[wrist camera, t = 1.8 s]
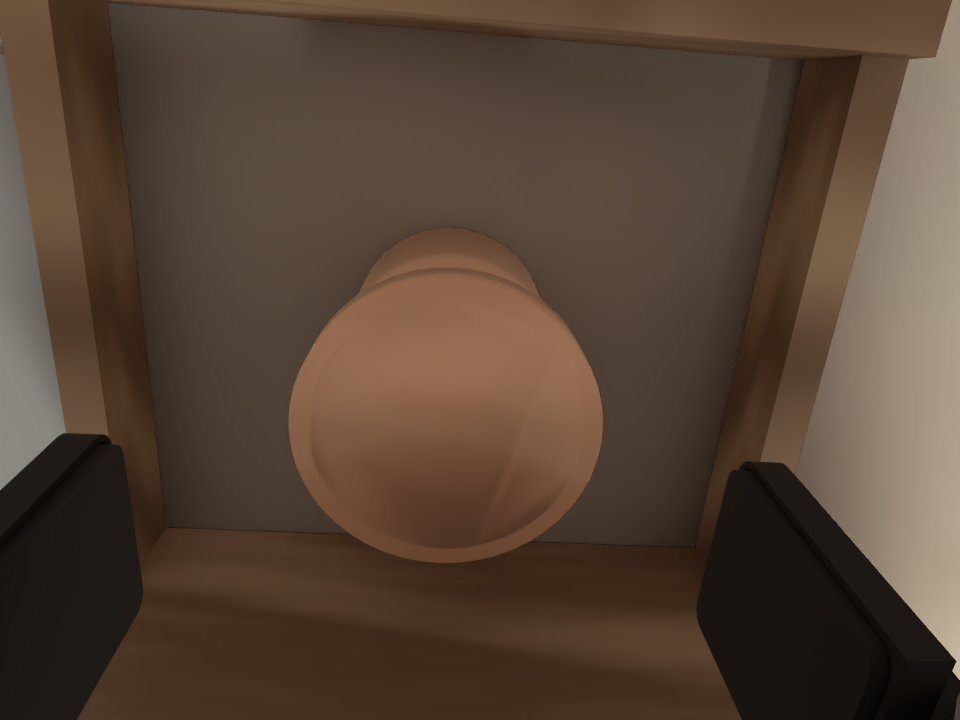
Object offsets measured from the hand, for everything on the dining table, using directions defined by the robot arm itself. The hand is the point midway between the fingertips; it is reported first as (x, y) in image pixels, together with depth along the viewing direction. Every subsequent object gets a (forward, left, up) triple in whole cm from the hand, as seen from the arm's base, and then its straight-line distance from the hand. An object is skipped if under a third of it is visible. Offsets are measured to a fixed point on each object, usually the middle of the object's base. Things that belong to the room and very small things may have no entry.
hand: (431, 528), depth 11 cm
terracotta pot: (-1, 0, -12) cm, 12 cm away
